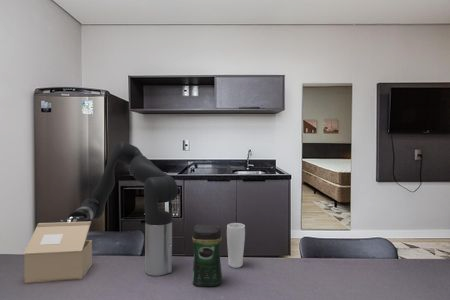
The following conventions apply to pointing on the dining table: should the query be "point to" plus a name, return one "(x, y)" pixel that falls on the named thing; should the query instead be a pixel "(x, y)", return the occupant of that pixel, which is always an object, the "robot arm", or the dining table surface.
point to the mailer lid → (58, 238)
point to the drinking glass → (235, 244)
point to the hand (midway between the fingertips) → (65, 228)
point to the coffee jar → (207, 255)
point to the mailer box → (58, 265)
